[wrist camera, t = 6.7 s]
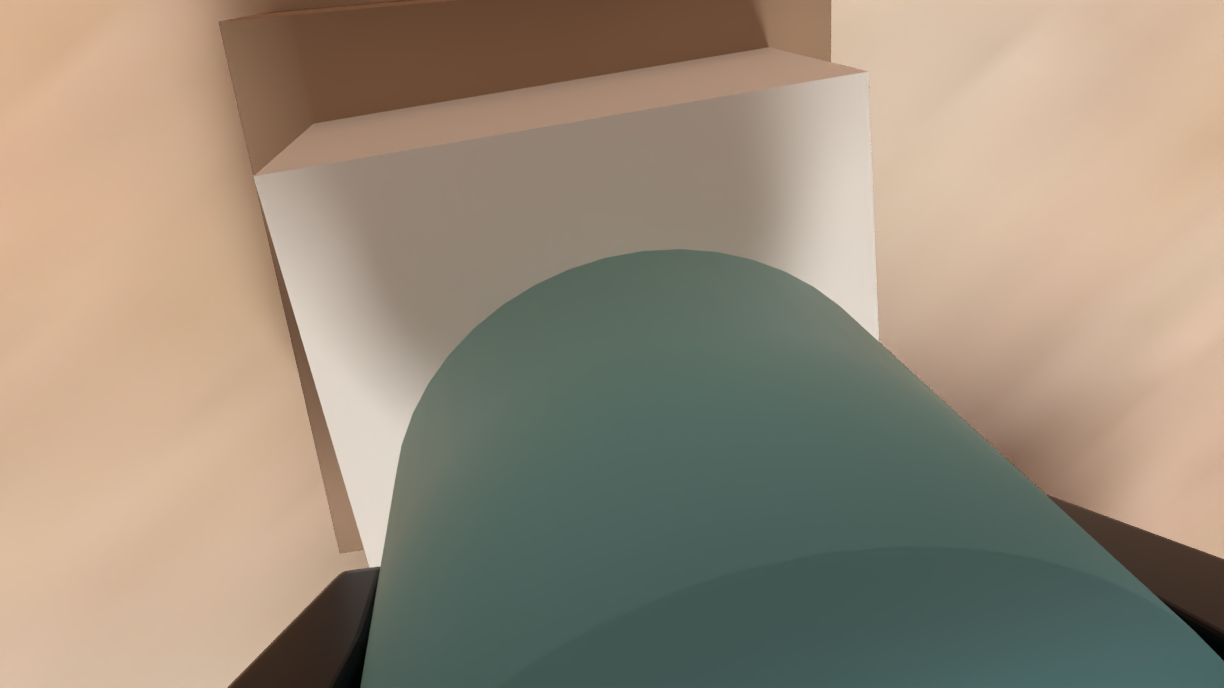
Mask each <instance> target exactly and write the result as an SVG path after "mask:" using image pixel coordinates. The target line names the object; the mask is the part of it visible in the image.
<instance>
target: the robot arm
mask: <svg viewBox="0 0 1224 688" xmlns="http://www.w3.org/2000/svg"><path fill="white" fill-rule="evenodd" d="M1045 495H1046V494H1045ZM1047 496H1048V497H1049V498H1050V499H1051V500H1052V501H1053V502H1054V503H1055V504H1056V505H1057V506H1059V507H1060V508H1061V509H1062V510H1063V511H1064V512H1065V513H1066V514H1067V515H1068V516H1069V517H1071V518H1072V519H1073V520H1074V521H1075V522H1076V523H1077V524H1078V525H1079V526H1080V527H1081V528H1083V529H1084V530H1085V531H1086V532H1087V533H1088V534H1089V535H1090V536H1091V537H1092V538H1093V539H1095V540H1096V541H1097V542H1098V543H1099V544H1100V545H1101V546H1102V547H1103V548H1104V549H1105V550H1107V551H1108V552H1109V553H1110V554H1111V555H1112V556H1113V557H1114V558H1115V559H1116V560H1117V561H1119V562H1120V563H1121V564H1122V565H1123V566H1124V567H1125V568H1126V569H1127V570H1128V571H1129V572H1131V573H1132V574H1133V575H1134V576H1135V577H1136V578H1137V579H1138V580H1139V581H1140V582H1141V583H1142V584H1144V585H1145V586H1146V587H1147V588H1148V589H1149V590H1150V591H1151V592H1152V593H1153V594H1154V595H1156V596H1157V597H1158V598H1159V599H1160V600H1161V601H1162V602H1163V603H1164V604H1165V605H1166V606H1168V607H1169V608H1170V609H1171V610H1172V611H1173V612H1174V613H1175V614H1176V615H1177V616H1178V617H1180V618H1181V619H1182V620H1183V621H1184V622H1185V623H1186V624H1187V625H1188V626H1189V627H1190V628H1192V629H1193V630H1194V631H1195V632H1196V633H1197V634H1198V635H1199V636H1200V637H1201V638H1202V639H1203V640H1204V641H1205V642H1206V643H1207V644H1208V645H1209V646H1210V647H1211V648H1212V649H1213V650H1214V652H1215V653H1216V654H1217V655H1218V656H1219V657H1220V658H1221V659H1222V660H1223V661H1224V559H1222V558H1219V557H1216V556H1214V555H1211V554H1208V553H1205V552H1203V551H1200V550H1197V549H1194V548H1192V547H1189V546H1186V545H1183V544H1181V543H1178V542H1175V541H1172V540H1170V539H1167V538H1164V537H1161V536H1159V535H1156V534H1153V533H1150V532H1148V531H1145V530H1142V529H1139V528H1137V527H1134V526H1131V525H1129V524H1126V523H1123V522H1120V521H1118V520H1115V519H1112V518H1109V517H1107V516H1104V515H1101V514H1098V513H1096V512H1093V511H1090V510H1087V509H1085V508H1082V507H1079V506H1076V505H1074V504H1071V503H1068V502H1065V501H1063V500H1060V499H1057V498H1054V497H1052V496H1049V495H1047ZM379 573H380V566H378V567H371V568H364V569H357V570H350V571H345V572H342V573H341V574H339V575H338V576H337V577H336V578H335V579H334V580H333V581H332V582H331V583H330V584H329V585H328V586H327V587H326V588H325V589H324V590H323V591H322V592H321V593H320V594H319V595H318V596H317V597H316V598H315V599H314V600H313V601H312V602H311V603H310V604H309V605H308V606H307V607H306V608H305V609H304V610H303V611H302V612H301V613H300V614H299V615H298V616H297V618H296V619H295V620H294V621H293V622H292V623H291V624H290V625H289V626H288V627H287V628H286V629H285V630H284V631H283V632H282V633H281V634H280V635H279V636H278V637H277V638H276V639H275V640H274V641H273V642H272V643H271V644H270V645H269V646H268V647H267V648H266V649H265V650H264V651H263V652H262V653H261V654H260V655H259V656H258V657H257V658H256V659H255V660H254V661H253V662H252V663H251V664H250V665H249V666H248V667H247V668H246V669H245V670H244V671H243V672H242V673H241V674H240V675H239V676H238V677H237V678H236V679H235V680H234V681H233V682H232V683H231V685H230V686H229V687H228V688H360V686H361V680H362V674H363V668H364V662H365V656H366V650H367V644H368V638H369V632H370V626H371V620H372V614H373V608H374V602H375V596H376V590H377V584H378V578H379Z"/></svg>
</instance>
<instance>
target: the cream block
mask: <svg viewBox="0 0 1224 688" xmlns="http://www.w3.org/2000/svg"><path fill="white" fill-rule="evenodd" d="M253 177H254V181H255V184H256V187H257V191H258V194H259V198H260V201H261V204H262V208H263V211H264V214H265V218H266V221H267V224H268V228H269V231H270V235H271V238H272V241H273V245H274V248H275V251H276V255H277V258H278V261H279V265H280V268H281V272H282V275H283V278H284V282H285V285H286V288H287V292H288V295H289V298H290V302H291V305H292V308H293V312H294V315H295V319H296V322H297V325H298V329H299V332H300V335H301V339H302V342H303V345H304V349H305V352H306V356H307V359H308V362H309V366H310V369H311V372H312V376H313V379H314V382H315V386H316V389H317V393H318V396H319V399H320V403H321V406H322V409H323V413H324V416H325V419H326V423H327V426H328V429H329V433H330V436H331V440H332V443H333V446H334V450H335V453H336V456H337V460H338V463H339V466H340V470H341V473H342V477H343V480H344V483H345V487H346V490H347V493H348V497H349V500H350V503H351V507H352V510H353V514H354V517H355V520H356V524H357V527H358V530H359V534H360V537H361V540H362V544H363V547H364V551H365V554H366V557H367V561H368V564H369V567H370V568H371V567H378V566H380V567H381V561H382V555H383V549H384V543H385V537H386V531H387V525H388V519H389V513H390V507H391V501H392V495H393V489H394V483H395V477H396V472H397V466H398V461H399V456H400V451H401V446H402V442H403V440H404V437H405V434H406V431H407V428H408V425H409V423H410V420H411V417H412V414H413V412H414V410H415V408H416V406H417V404H418V402H419V401H420V399H421V397H422V395H423V393H424V391H425V389H426V387H427V385H428V383H429V382H430V381H431V379H432V378H433V376H434V375H435V374H436V372H437V371H438V369H439V368H440V367H441V365H442V364H443V362H444V361H445V360H446V358H447V357H448V355H449V354H450V353H451V352H452V351H453V350H454V349H455V348H456V347H457V346H458V345H459V344H460V342H461V341H462V340H463V339H464V338H465V337H466V336H467V335H468V334H469V333H470V332H471V331H472V330H473V329H474V328H475V327H476V326H477V325H479V324H480V323H481V322H482V321H483V320H485V319H486V318H487V317H488V316H490V315H491V314H492V313H493V312H495V311H496V310H497V309H498V308H499V307H501V306H502V305H503V304H505V303H506V302H508V301H510V300H511V299H513V298H515V297H516V296H518V295H519V294H521V293H523V292H524V291H526V290H527V289H529V288H531V287H532V286H534V285H536V284H538V283H540V282H542V281H545V280H547V279H549V278H551V277H553V276H555V275H558V274H560V273H562V272H564V271H566V270H569V269H571V268H575V267H578V266H581V265H584V264H587V263H591V262H594V261H597V260H600V259H603V258H607V257H613V256H618V255H624V254H629V253H635V252H640V251H653V250H673V249H685V250H698V251H711V252H719V253H724V254H729V255H733V256H738V257H743V258H747V259H752V260H755V261H757V262H760V263H763V264H766V265H769V266H771V267H774V268H777V269H780V270H782V271H785V272H787V273H789V274H791V275H792V276H794V277H796V278H798V279H800V280H802V281H804V282H806V283H807V284H809V285H811V286H813V287H815V288H816V289H817V290H819V291H820V292H822V293H823V294H824V295H826V296H827V297H828V298H830V299H831V300H832V301H834V302H835V303H836V304H838V305H839V306H840V307H842V308H843V309H844V310H845V311H846V312H847V313H848V314H849V315H850V316H851V317H852V318H854V319H855V320H856V321H857V322H858V323H859V324H860V325H861V326H862V327H863V328H864V329H866V330H867V331H868V332H869V333H870V334H871V335H872V336H873V337H874V338H875V339H876V340H878V341H879V329H878V304H877V279H876V253H875V228H874V203H873V178H872V153H871V127H870V102H869V77H868V71H864V70H860V69H856V68H852V67H848V66H844V65H840V64H835V63H831V62H827V61H823V60H819V59H815V58H811V57H807V56H803V55H799V54H795V53H790V52H786V51H782V50H778V49H774V48H770V47H767V48H761V49H755V50H749V51H743V52H737V53H731V54H725V55H719V56H713V57H707V58H701V59H695V60H689V61H683V62H677V63H671V64H665V65H659V66H653V67H648V68H642V69H636V70H630V71H624V72H618V73H612V74H606V75H600V76H594V77H588V78H582V79H576V80H570V81H564V82H558V83H552V84H546V85H540V86H534V87H528V88H522V89H517V90H511V91H505V92H499V93H493V94H487V95H481V96H475V97H469V98H463V99H457V100H451V101H445V102H439V103H433V104H427V105H421V106H415V107H409V108H403V109H397V110H391V111H386V112H380V113H374V114H368V115H362V116H356V117H350V118H344V119H338V120H332V121H326V122H320V123H314V124H313V125H311V126H310V127H309V128H308V129H307V130H306V131H305V132H303V133H302V134H301V135H300V136H299V137H298V138H297V139H295V140H294V141H293V142H292V143H291V144H290V145H289V146H287V147H286V148H285V149H284V150H283V151H282V152H281V153H279V154H278V155H277V156H276V157H275V158H274V159H273V160H271V161H270V162H269V163H268V164H267V165H266V166H265V167H264V168H262V169H261V170H260V171H259V172H258V173H257V174H256V175H254V176H253Z"/></svg>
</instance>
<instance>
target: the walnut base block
mask: <svg viewBox="0 0 1224 688" xmlns="http://www.w3.org/2000/svg"><path fill="white" fill-rule="evenodd" d="M219 26H220V31H221V35H222V39H223V44H224V48H225V52H226V57H227V61H228V66H229V70H230V74H231V79H232V83H233V88H234V92H235V96H236V101H237V105H238V109H239V114H240V118H241V123H242V127H243V131H244V136H245V140H246V144H247V149H248V153H249V158H250V162H251V166H252V171H253V175H256V174H257V173H258V172H259V171H260V170H261V169H262V168H264V167H265V166H266V165H267V164H268V163H269V162H270V161H271V160H273V159H274V158H275V157H276V156H277V155H278V154H279V153H281V152H282V151H283V150H284V149H285V148H286V147H287V146H289V145H290V144H291V143H292V142H293V141H294V140H295V139H297V138H298V137H299V136H300V135H301V134H302V133H303V132H305V131H306V130H307V129H308V128H309V127H310V126H311V125H313V124H314V123H320V122H326V121H332V120H338V119H344V118H350V117H356V116H362V115H368V114H374V113H380V112H386V111H391V110H397V109H403V108H409V107H415V106H421V105H427V104H433V103H439V102H445V101H451V100H457V99H463V98H469V97H475V96H481V95H487V94H493V93H499V92H505V91H511V90H517V89H522V88H528V87H534V86H540V85H546V84H552V83H558V82H564V81H570V80H576V79H582V78H588V77H594V76H600V75H606V74H612V73H618V72H624V71H630V70H636V69H642V68H648V67H653V66H659V65H665V64H671V63H677V62H683V61H689V60H695V59H701V58H707V57H713V56H719V55H725V54H731V53H737V52H743V51H749V50H755V49H761V48H767V47H770V48H774V49H778V50H782V51H786V52H790V53H795V54H799V55H803V56H807V57H811V58H815V59H819V60H823V61H827V62H831V0H404V1H393V2H382V3H371V4H360V5H348V6H337V7H326V8H315V9H304V10H293V11H281V12H270V13H265V14H259V15H254V16H248V17H242V18H237V19H231V20H226V21H220V22H219ZM256 188H257V187H256ZM257 193H258V191H257ZM258 197H259V194H258ZM259 201H260V198H259ZM260 206H261V210H262V215H263V219H264V223H265V228H266V232H267V237H268V241H269V245H270V250H271V254H272V258H273V263H274V267H275V272H276V276H277V280H278V285H279V289H280V294H281V298H282V302H283V307H284V311H285V315H286V320H287V324H288V329H289V333H290V337H291V342H292V346H293V350H294V355H295V359H296V364H297V368H298V372H299V377H300V381H301V386H302V390H303V394H304V399H305V403H306V407H307V412H308V416H309V421H310V425H311V429H312V434H313V438H314V443H315V447H316V451H317V456H318V460H319V464H320V469H321V473H322V478H323V482H324V486H325V491H326V495H327V499H328V504H329V508H330V513H331V517H332V521H333V526H334V530H335V535H336V539H337V543H338V548H339V552H340V553H346V552H353V551H360V550H364V547H363V544H362V540H361V537H360V534H359V530H358V527H357V524H356V520H355V517H354V514H353V510H352V507H351V503H350V500H349V497H348V493H347V490H346V487H345V483H344V480H343V477H342V473H341V470H340V466H339V463H338V460H337V456H336V453H335V450H334V446H333V443H332V440H331V436H330V433H329V429H328V426H327V423H326V419H325V416H324V413H323V409H322V406H321V403H320V399H319V396H318V393H317V389H316V386H315V382H314V379H313V376H312V372H311V369H310V366H309V362H308V359H307V356H306V352H305V349H304V345H303V342H302V339H301V335H300V332H299V329H298V325H297V322H296V319H295V315H294V312H293V308H292V305H291V302H290V298H289V295H288V292H287V288H286V285H285V282H284V278H283V275H282V272H281V268H280V265H279V261H278V258H277V255H276V251H275V248H274V245H273V241H272V238H271V235H270V231H269V228H268V224H267V221H266V218H265V214H264V211H263V208H262V204H261V201H260Z"/></svg>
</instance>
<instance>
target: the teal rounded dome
mask: <svg viewBox="0 0 1224 688" xmlns="http://www.w3.org/2000/svg"><path fill="white" fill-rule="evenodd" d="M360 688H1224V661H1223V660H1222V659H1221V658H1220V657H1219V656H1218V655H1217V654H1216V653H1215V652H1214V650H1213V649H1212V648H1211V647H1210V646H1209V645H1208V644H1207V643H1206V642H1205V641H1204V640H1203V639H1202V638H1201V637H1200V636H1199V635H1198V634H1197V633H1196V632H1195V631H1194V630H1193V629H1192V628H1190V627H1189V626H1188V625H1187V624H1186V623H1185V622H1184V621H1183V620H1182V619H1181V618H1180V617H1178V616H1177V615H1176V614H1175V613H1174V612H1173V611H1172V610H1171V609H1170V608H1169V607H1168V606H1166V605H1165V604H1164V603H1163V602H1162V601H1161V600H1160V599H1159V598H1158V597H1157V596H1156V595H1154V594H1153V593H1152V592H1151V591H1150V590H1149V589H1148V588H1147V587H1146V586H1145V585H1144V584H1142V583H1141V582H1140V581H1139V580H1138V579H1137V578H1136V577H1135V576H1134V575H1133V574H1132V573H1131V572H1129V571H1128V570H1127V569H1126V568H1125V567H1124V566H1123V565H1122V564H1121V563H1120V562H1119V561H1117V560H1116V559H1115V558H1114V557H1113V556H1112V555H1111V554H1110V553H1109V552H1108V551H1107V550H1105V549H1104V548H1103V547H1102V546H1101V545H1100V544H1099V543H1098V542H1097V541H1096V540H1095V539H1093V538H1092V537H1091V536H1090V535H1089V534H1088V533H1087V532H1086V531H1085V530H1084V529H1083V528H1081V527H1080V526H1079V525H1078V524H1077V523H1076V522H1075V521H1074V520H1073V519H1072V518H1071V517H1069V516H1068V515H1067V514H1066V513H1065V512H1064V511H1063V510H1062V509H1061V508H1060V507H1059V506H1057V505H1056V504H1055V503H1054V502H1053V501H1052V500H1051V499H1050V498H1049V497H1048V496H1047V495H1045V494H1044V493H1043V492H1042V491H1041V490H1040V489H1039V488H1038V487H1037V486H1036V485H1035V484H1033V483H1032V482H1031V481H1030V480H1029V479H1028V478H1027V477H1026V476H1025V475H1024V474H1023V473H1021V472H1020V471H1019V470H1018V469H1017V468H1016V467H1015V466H1014V465H1013V464H1012V463H1011V462H1009V461H1008V460H1007V459H1006V458H1005V457H1004V456H1003V455H1002V454H1001V453H1000V452H999V451H997V450H996V449H995V448H994V447H993V446H992V445H991V444H990V443H989V442H988V441H987V440H985V439H984V438H983V437H982V436H981V435H980V434H979V433H978V432H977V431H976V430H975V429H973V428H972V427H971V426H970V425H969V424H968V423H967V422H966V421H965V420H964V419H963V418H961V417H960V416H959V415H958V414H957V413H956V412H955V411H954V410H953V409H952V408H951V407H950V406H948V405H947V404H946V403H945V402H944V401H943V400H942V399H941V398H940V397H939V396H938V395H936V394H935V393H934V392H933V391H932V390H931V389H930V388H929V387H928V386H927V385H926V384H924V383H923V382H922V381H921V380H920V379H919V378H918V377H917V376H916V375H915V374H914V373H912V372H911V371H910V370H909V369H908V368H907V367H906V366H905V365H904V364H903V363H902V362H900V361H899V360H898V359H897V358H896V357H895V356H894V355H893V354H892V353H891V352H890V351H888V350H887V349H886V348H885V347H884V346H883V345H882V344H881V343H880V342H879V341H878V340H876V339H875V338H874V337H873V336H872V335H871V334H870V333H869V332H868V331H867V330H866V329H864V328H863V327H862V326H861V325H860V324H859V323H858V322H857V321H856V320H855V319H854V318H852V317H851V316H850V315H849V314H848V313H847V312H846V311H845V310H844V309H843V308H842V307H840V306H839V305H838V304H836V303H835V302H834V301H832V300H831V299H830V298H828V297H827V296H826V295H824V294H823V293H822V292H820V291H819V290H817V289H816V288H815V287H813V286H811V285H809V284H807V283H806V282H804V281H802V280H800V279H798V278H796V277H794V276H792V275H791V274H789V273H787V272H785V271H782V270H780V269H777V268H774V267H771V266H769V265H766V264H763V263H760V262H757V261H755V260H752V259H747V258H743V257H738V256H733V255H729V254H724V253H719V252H711V251H698V250H685V249H673V250H653V251H640V252H635V253H629V254H624V255H618V256H613V257H607V258H603V259H600V260H597V261H594V262H591V263H587V264H584V265H581V266H578V267H575V268H571V269H569V270H566V271H564V272H562V273H560V274H558V275H555V276H553V277H551V278H549V279H547V280H545V281H542V282H540V283H538V284H536V285H534V286H532V287H531V288H529V289H527V290H526V291H524V292H523V293H521V294H519V295H518V296H516V297H515V298H513V299H511V300H510V301H508V302H506V303H505V304H503V305H502V306H501V307H499V308H498V309H497V310H496V311H495V312H493V313H492V314H491V315H490V316H488V317H487V318H486V319H485V320H483V321H482V322H481V323H480V324H479V325H477V326H476V327H475V328H474V329H473V330H472V331H471V332H470V333H469V334H468V335H467V336H466V337H465V338H464V339H463V340H462V341H461V342H460V344H459V345H458V346H457V347H456V348H455V349H454V350H453V351H452V352H451V353H450V354H449V355H448V357H447V358H446V360H445V361H444V362H443V364H442V365H441V367H440V368H439V369H438V371H437V372H436V374H435V375H434V376H433V378H432V379H431V381H430V382H429V383H428V385H427V387H426V389H425V391H424V393H423V395H422V397H421V399H420V401H419V402H418V404H417V406H416V408H415V410H414V412H413V414H412V417H411V420H410V423H409V425H408V428H407V431H406V434H405V437H404V440H403V442H402V446H401V451H400V456H399V461H398V466H397V472H396V477H395V483H394V489H393V495H392V501H391V507H390V513H389V519H388V525H387V531H386V537H385V543H384V549H383V555H382V561H381V567H380V573H379V578H378V584H377V590H376V596H375V602H374V608H373V614H372V620H371V626H370V632H369V638H368V644H367V650H366V656H365V662H364V668H363V674H362V680H361V686H360Z"/></svg>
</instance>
